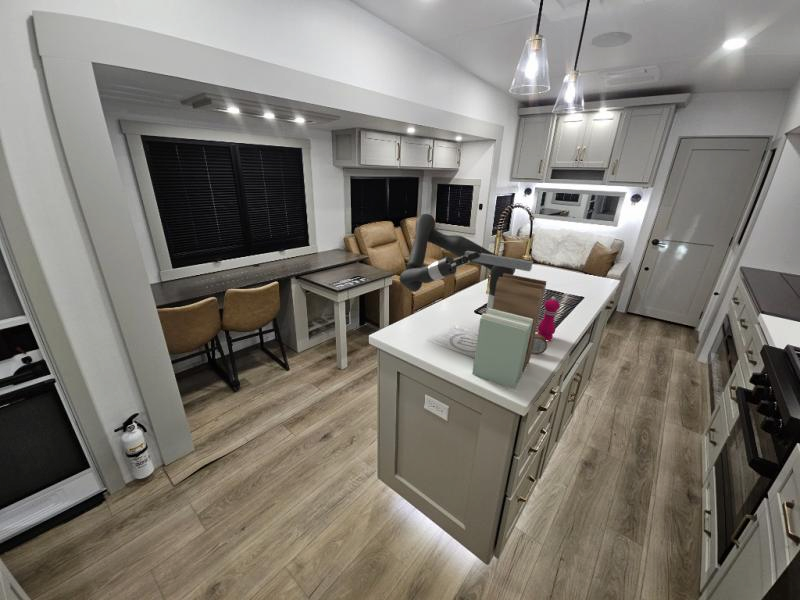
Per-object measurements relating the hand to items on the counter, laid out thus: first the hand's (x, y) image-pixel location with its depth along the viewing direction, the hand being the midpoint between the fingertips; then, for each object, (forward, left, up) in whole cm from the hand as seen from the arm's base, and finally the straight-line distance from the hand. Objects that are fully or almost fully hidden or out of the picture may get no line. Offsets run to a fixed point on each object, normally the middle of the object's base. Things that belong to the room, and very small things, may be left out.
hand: (480, 253), depth 118 cm
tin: (-12, +21, -40) cm, 47 cm away
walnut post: (0, +16, -40) cm, 43 cm away
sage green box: (+13, +16, -40) cm, 45 cm away
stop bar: (0, +7, -3) cm, 7 cm away
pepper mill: (-31, +25, -40) cm, 56 cm away
